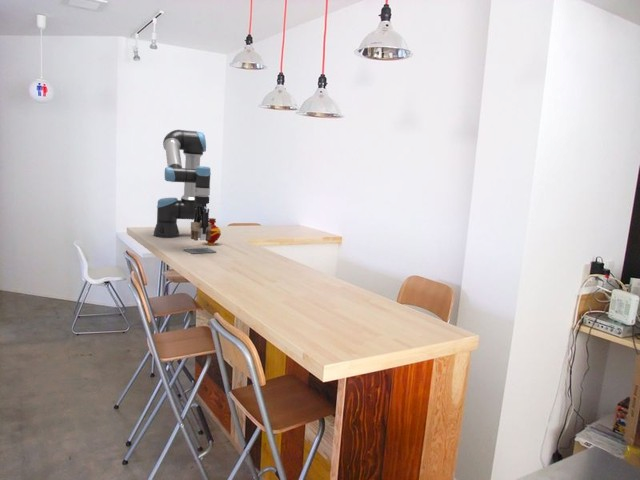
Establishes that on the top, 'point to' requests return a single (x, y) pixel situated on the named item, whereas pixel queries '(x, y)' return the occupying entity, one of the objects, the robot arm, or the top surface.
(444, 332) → the top surface
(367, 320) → the top surface
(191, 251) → the mat
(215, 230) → the potion bottle
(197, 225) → the footstool
